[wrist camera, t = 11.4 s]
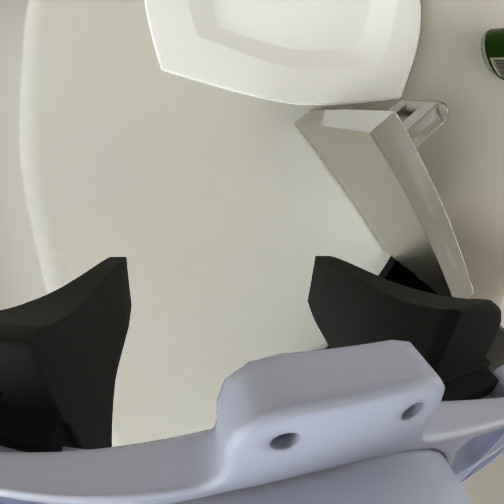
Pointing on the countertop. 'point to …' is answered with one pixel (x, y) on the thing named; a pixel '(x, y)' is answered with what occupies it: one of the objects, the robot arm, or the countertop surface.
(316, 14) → the plate
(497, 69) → the beer can
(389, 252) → the microwave door
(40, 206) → the countertop surface
